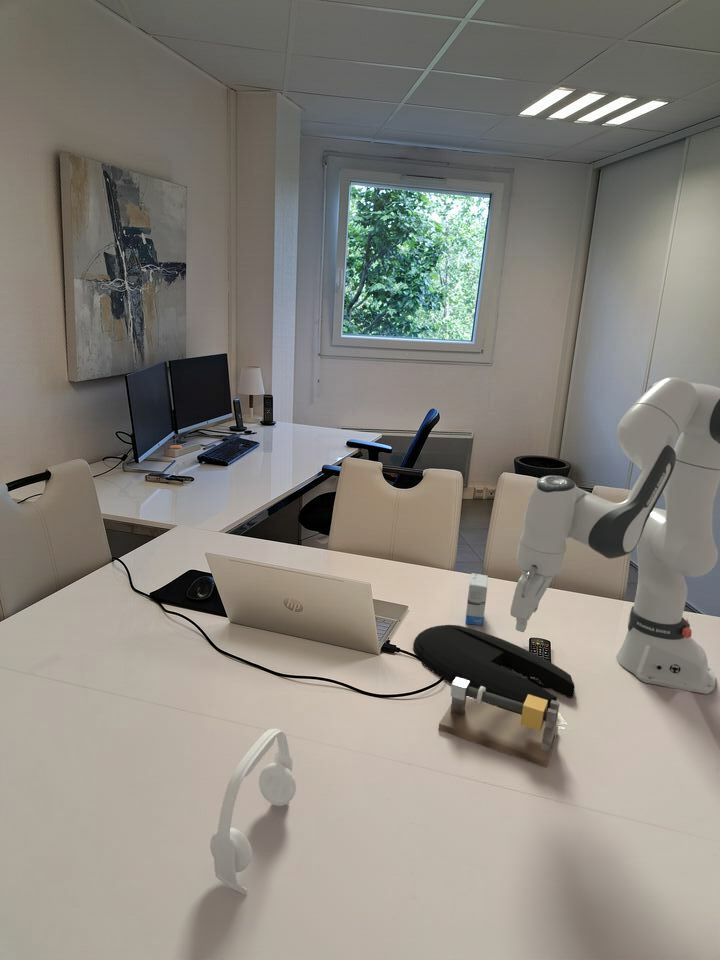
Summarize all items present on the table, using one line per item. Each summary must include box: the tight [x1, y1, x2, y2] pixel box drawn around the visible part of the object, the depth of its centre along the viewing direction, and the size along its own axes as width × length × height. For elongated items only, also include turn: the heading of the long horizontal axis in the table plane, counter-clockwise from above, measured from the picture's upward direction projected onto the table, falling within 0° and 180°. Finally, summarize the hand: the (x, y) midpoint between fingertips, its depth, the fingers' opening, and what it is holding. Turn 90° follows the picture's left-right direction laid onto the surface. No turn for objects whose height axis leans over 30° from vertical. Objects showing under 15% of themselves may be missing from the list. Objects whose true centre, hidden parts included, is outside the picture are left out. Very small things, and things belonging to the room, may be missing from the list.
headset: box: [209, 728, 297, 895], centre depth 103 cm, size 20×7×18 cm, turn 160°
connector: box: [450, 677, 470, 716], centre depth 138 cm, size 3×3×7 cm
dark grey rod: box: [466, 686, 558, 723], centre depth 134 cm, size 18×4×4 cm, turn 64°
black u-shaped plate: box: [413, 624, 575, 715], centre depth 159 cm, size 25×41×5 cm, turn 46°
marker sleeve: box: [520, 694, 548, 731], centre depth 132 cm, size 4×4×4 cm
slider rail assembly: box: [438, 696, 561, 768], centre depth 135 cm, size 22×12×10 cm, turn 64°
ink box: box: [465, 572, 489, 627], centre depth 182 cm, size 8×5×12 cm, turn 168°
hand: (526, 619), depth 132 cm, fingers open, 8 cm apart
